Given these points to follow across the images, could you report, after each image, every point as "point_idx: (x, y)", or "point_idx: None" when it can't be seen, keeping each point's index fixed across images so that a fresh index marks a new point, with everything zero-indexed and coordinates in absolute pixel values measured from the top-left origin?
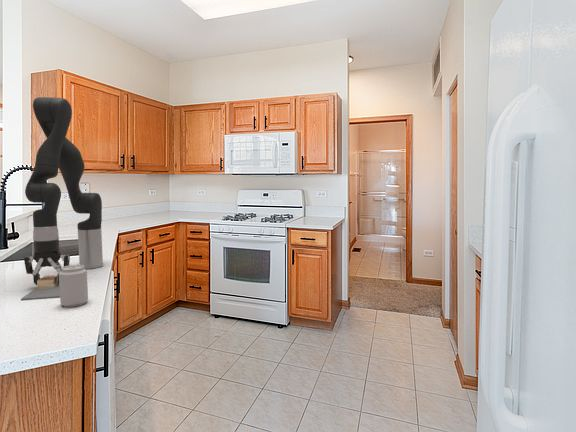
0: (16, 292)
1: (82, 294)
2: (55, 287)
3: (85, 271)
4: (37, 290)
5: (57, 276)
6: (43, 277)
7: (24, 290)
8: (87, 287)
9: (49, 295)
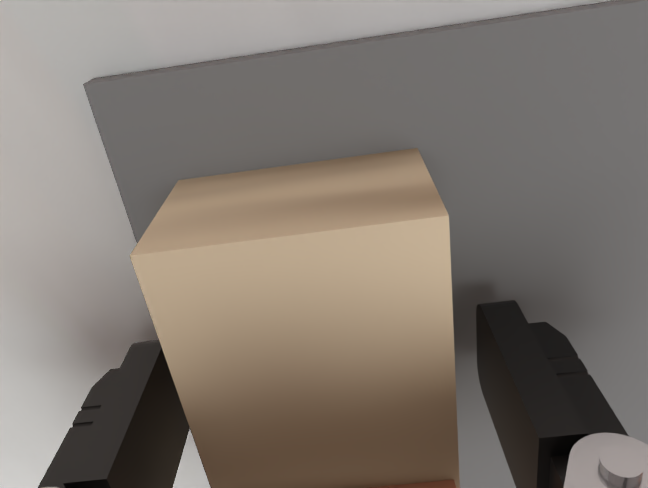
0: (37, 472)
1: None
2: (460, 419)
3: None
4: None
5: (451, 344)
6: (209, 416)
7: (71, 416)
8: None
9: None
